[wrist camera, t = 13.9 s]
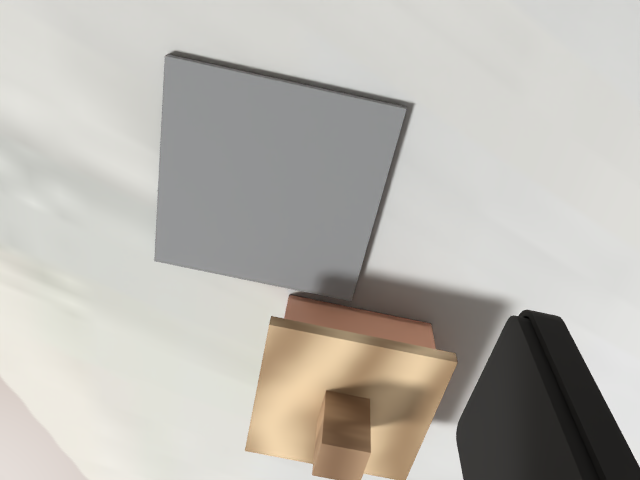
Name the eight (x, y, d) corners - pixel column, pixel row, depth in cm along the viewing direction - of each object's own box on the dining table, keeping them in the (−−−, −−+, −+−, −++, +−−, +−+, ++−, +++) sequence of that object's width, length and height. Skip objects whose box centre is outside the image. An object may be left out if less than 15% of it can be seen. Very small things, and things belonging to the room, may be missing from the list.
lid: (455, 353, 40) (469, 415, 35) (404, 471, 47) (409, 538, 42) (271, 316, 39) (257, 374, 34) (247, 441, 46) (232, 505, 41)
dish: (431, 323, 44) (437, 361, 40) (392, 421, 50) (395, 462, 46) (289, 294, 44) (282, 329, 40) (267, 396, 50) (259, 435, 46)
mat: (406, 106, 36) (406, 109, 35) (351, 297, 44) (351, 301, 43) (167, 54, 35) (164, 55, 34) (156, 257, 43) (154, 261, 42)
